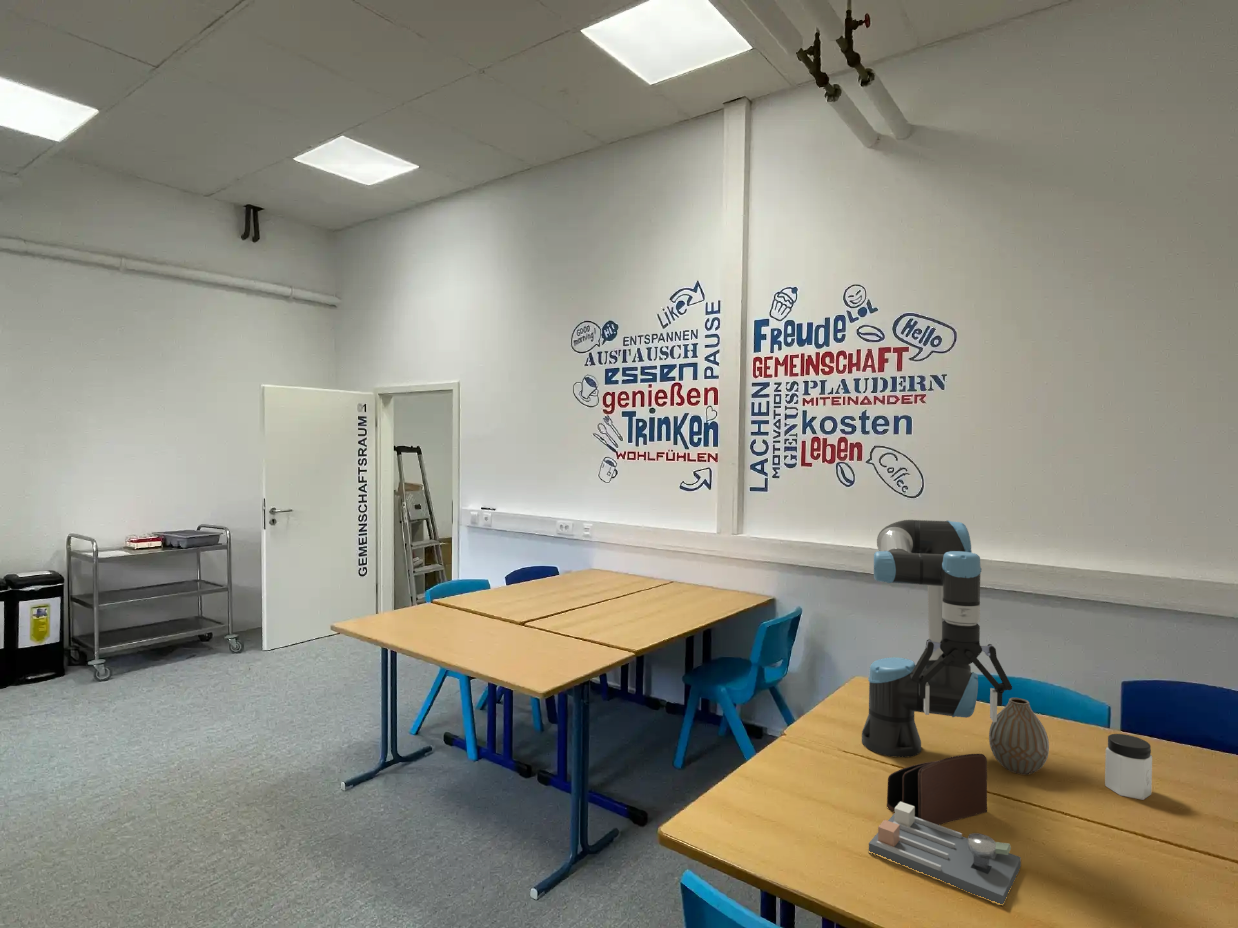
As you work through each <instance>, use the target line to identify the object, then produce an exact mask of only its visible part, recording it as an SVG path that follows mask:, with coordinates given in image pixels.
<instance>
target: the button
mask: <svg viewBox="0 0 1238 928" xmlns="http://www.w3.org/2000/svg"><path fill="white" fill-rule="evenodd" d="M967 838H968V850H969V852H970V853H972V854H973V855H974V863H973V864H974V865H977V866H979V867H982V868H985V869H987V867H988V865H989V859H992V858H994V857H995V849H996V843H995V842H996V841H995V840H994V839H993V838H992V837H991V836H988V835H986V834H983V833H979V832H977V833H976V832H973V833H969V834H968V836H967Z"/></svg>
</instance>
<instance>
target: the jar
mask: <svg viewBox="0 0 1238 928" xmlns="http://www.w3.org/2000/svg"><path fill="white" fill-rule="evenodd" d="M1151 753H1152V749H1151V744H1150V743H1149V742H1148V741H1146V740H1144V739H1142V738H1139V737H1137V736H1133V735H1130V734H1124V733H1112V734H1108V736H1107V747H1106V748H1105V763H1104V764H1105V767H1104V768H1105V770H1104V771H1105V773H1104V785H1105V787H1107V788H1108V789H1110V790H1111V791H1113V792H1114V793H1116V794H1117V795H1118V796H1121V797H1126V798H1131V799H1136V800H1137V799H1138V800H1143V801H1144V800H1145V799H1147V798H1148V797H1149V796H1151V795H1152V784H1153V783H1152V780H1153V778H1152V777H1153V756H1152V754H1151Z"/></svg>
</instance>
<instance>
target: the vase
mask: <svg viewBox="0 0 1238 928" xmlns="http://www.w3.org/2000/svg"><path fill="white" fill-rule="evenodd" d="M988 742H989V747H990V750H991V754H992V755H993V756H994V758H995V759H996V761H997V762H998V763H999V764H1000V765H1001V766H1002V768H1004V769H1005V770H1007V771H1009V772H1011V773H1014V774H1018V775H1022V776H1023V775H1025V776H1026V775H1027V776H1028V775H1032V774H1035V772H1038V771H1039V770H1041V768H1043V767H1044V766H1045V764H1046V762H1047V760H1048V757H1049V752H1050V742H1049V736H1048V733H1047V731H1046V729H1045V727H1044V725H1043V723H1042V721H1041V720H1040V719H1039V717H1038V716H1037V715H1036V713H1035V712H1034V711H1033V710H1032V707H1031V705H1030V702H1029V700H1027V699H1024V698H1019V697H1010V698H1008V703H1007V704H1006V705H1005V707H1003V708H1002V709H1001V710H1000V711H999V712H997V722H993V721H992V722H991V724H990V728H989V733H988Z"/></svg>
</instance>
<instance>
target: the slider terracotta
mask: <svg viewBox="0 0 1238 928" xmlns="http://www.w3.org/2000/svg"><path fill="white" fill-rule="evenodd" d="M877 828H878V829H877V833H878V841H879V842H882V843H885V844H887V845H890V846H892V847H895V845H896V844H897V843H898V842H899V833H900V825H898V824H896V823H893V822H890V821H888V820H887V819H883V820H882V822H881V823H880V824H879V825H878V827H877Z"/></svg>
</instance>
